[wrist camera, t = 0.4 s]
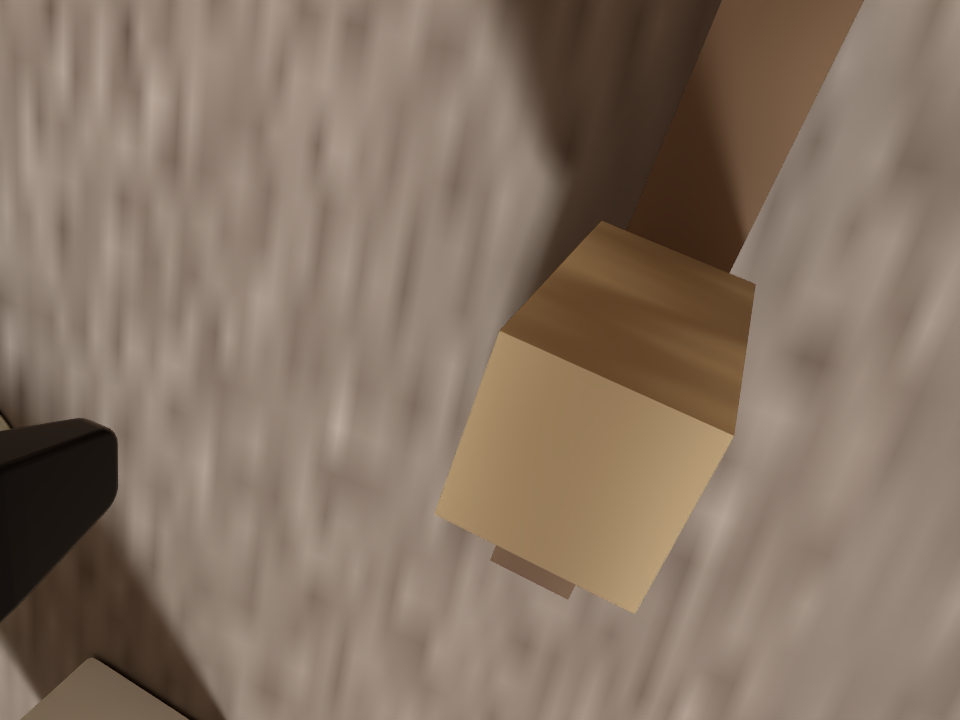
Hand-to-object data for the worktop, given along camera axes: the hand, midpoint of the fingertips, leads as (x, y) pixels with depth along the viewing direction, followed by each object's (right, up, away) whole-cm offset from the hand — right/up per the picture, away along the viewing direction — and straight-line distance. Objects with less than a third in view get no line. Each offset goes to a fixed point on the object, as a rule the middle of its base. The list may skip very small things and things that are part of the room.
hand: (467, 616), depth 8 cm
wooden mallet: (+4, +5, +10) cm, 12 cm away
